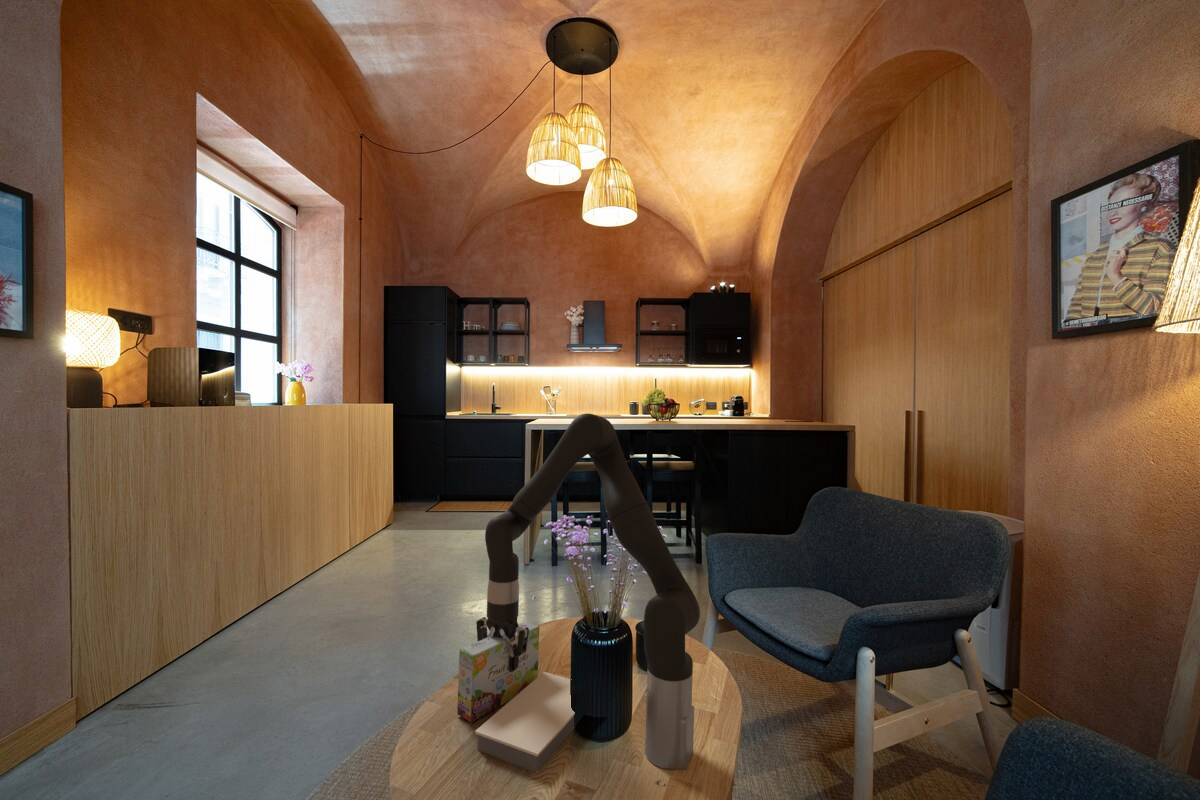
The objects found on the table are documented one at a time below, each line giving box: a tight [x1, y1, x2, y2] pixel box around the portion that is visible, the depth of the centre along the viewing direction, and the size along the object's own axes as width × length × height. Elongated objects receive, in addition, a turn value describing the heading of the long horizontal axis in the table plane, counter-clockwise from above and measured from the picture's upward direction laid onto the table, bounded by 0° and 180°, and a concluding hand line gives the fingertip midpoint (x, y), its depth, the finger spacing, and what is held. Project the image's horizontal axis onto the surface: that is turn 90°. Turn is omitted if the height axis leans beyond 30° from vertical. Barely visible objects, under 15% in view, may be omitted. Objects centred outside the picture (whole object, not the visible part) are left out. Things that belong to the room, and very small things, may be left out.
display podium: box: [474, 671, 576, 773], centre depth 115 cm, size 15×27×4 cm, turn 155°
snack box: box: [456, 621, 540, 723], centre depth 125 cm, size 21×6×15 cm, turn 143°
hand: (501, 667), depth 125 cm, fingers closed on snack box, 6 cm apart
